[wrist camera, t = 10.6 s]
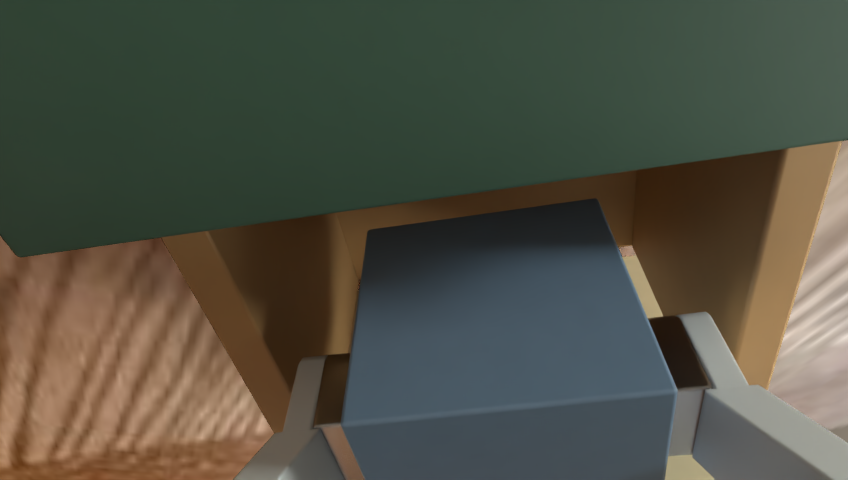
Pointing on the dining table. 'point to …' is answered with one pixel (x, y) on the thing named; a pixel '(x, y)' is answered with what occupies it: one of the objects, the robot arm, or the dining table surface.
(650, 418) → the block
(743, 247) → the drawer
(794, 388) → the dining table surface
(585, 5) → the cabinet
